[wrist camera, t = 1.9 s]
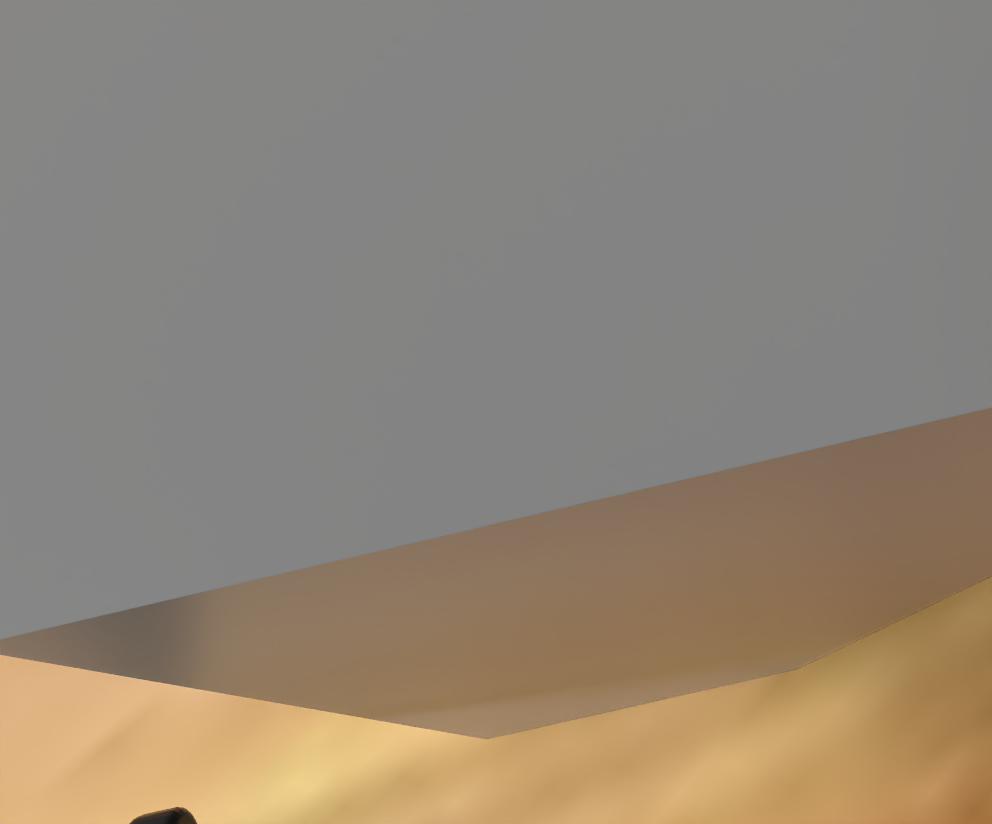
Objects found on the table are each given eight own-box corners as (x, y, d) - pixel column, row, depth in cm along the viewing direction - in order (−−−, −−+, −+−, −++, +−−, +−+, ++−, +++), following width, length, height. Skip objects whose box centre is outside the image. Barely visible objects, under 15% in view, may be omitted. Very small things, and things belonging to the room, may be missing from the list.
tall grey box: (797, 668, 18) (1680, 248, 3) (486, 739, 18) (-39, 648, 3) (703, 384, 20) (951, -583, 6) (431, 449, 21) (-3, -322, 6)
